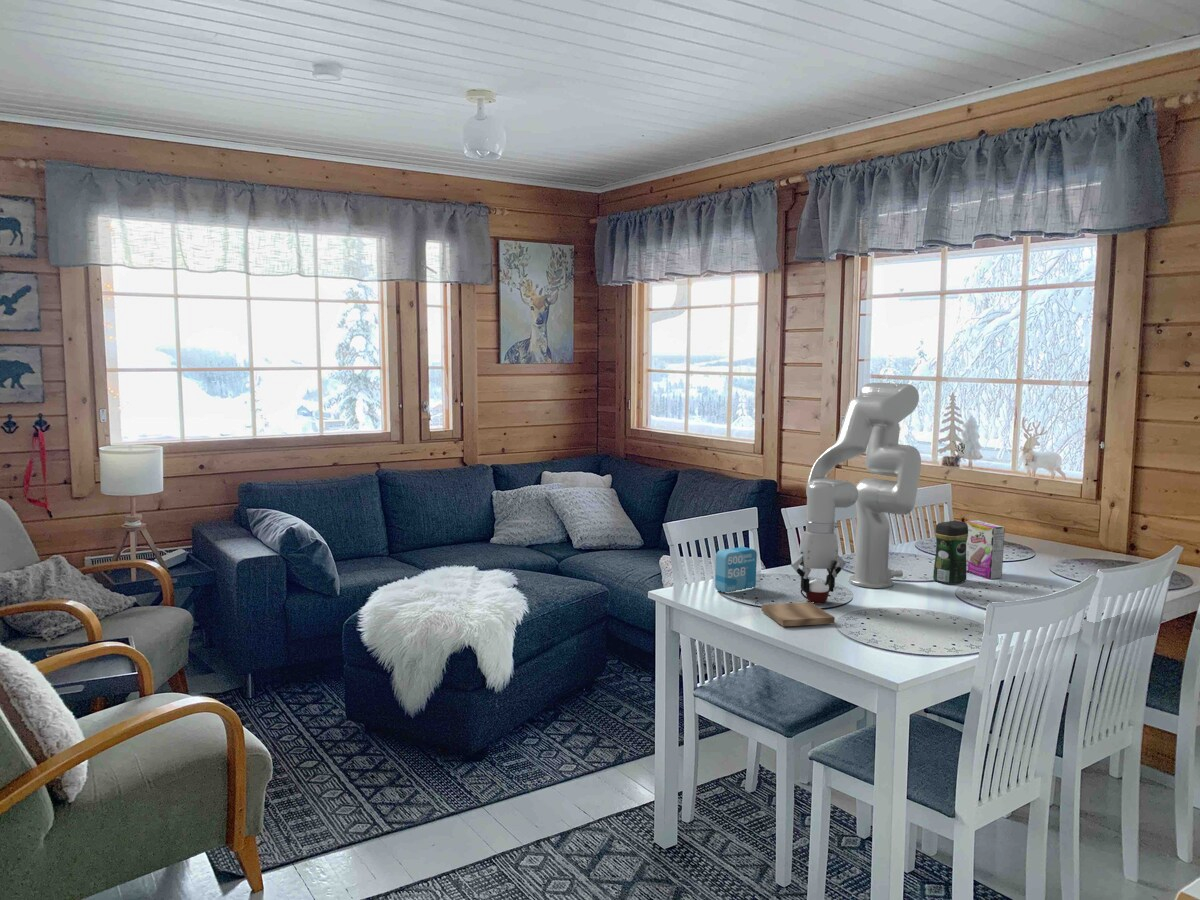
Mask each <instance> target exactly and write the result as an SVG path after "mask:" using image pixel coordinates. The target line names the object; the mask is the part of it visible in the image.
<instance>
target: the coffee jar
mask: <svg viewBox="0 0 1200 900" xmlns="http://www.w3.org/2000/svg"><path fill="white" fill-rule="evenodd" d="M934 531H935V533H934V535H935V540H936V543H935V544H936V545H935V547H936V548H935V554H934V555H935V557H934V565H933V573H932V574H933V576H932V577H933V580H934V581H935V580H936V582H937V583H940V584H943V585H944V584H949V585H956V584H961V583H964V582H966V581H967V572H966V543H967V538H968V525H967V522H965V521H960V520H955V519H954V520H949V521H944V522H938V523H937V524H936V525H935V530H934Z"/></svg>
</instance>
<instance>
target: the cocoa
mask: <svg viewBox="0 0 1200 900" xmlns="http://www.w3.org/2000/svg"><path fill="white" fill-rule="evenodd" d="M836 563H837V561H835V562H834V564H833V567H832V569H831V571H830V573H829V576H828V578H827V580H826V579H825V582H824V581H822V580H820V579H813V580H809V592H808V593H803V591H802V589H801V588H800V593H801V596H803V598H805V599H806V600H808V602H814V603H813V604H815V603H822V604H824V603H826V602H827V600H828V597H829V594H830V591H829V585H828V582H829V579H830V577H831V575H832V572H833V570H834V568H835V566H836ZM805 594H806V595H805Z"/></svg>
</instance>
